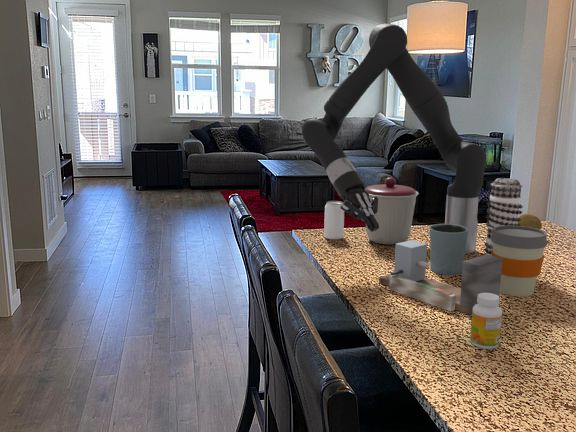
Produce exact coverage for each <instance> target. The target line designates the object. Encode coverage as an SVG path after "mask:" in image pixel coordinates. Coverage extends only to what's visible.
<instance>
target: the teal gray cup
mask: <svg viewBox="0 0 576 432" xmlns="http://www.w3.org/2000/svg"><path fill="white" fill-rule="evenodd" d="M468 231H469V229H468V228H466V227H464V226H460V225H455V224H445V223H436V224H432V225H430V226H429V240H430V241H429V242H430V243H429V245H430V246H429V252H430V254H429V258H430V262H429V268H430V270H431V271H432V272H433V273H436V274H439V275H445V276H446V275H447V276H455V275H460V274H462V270H463V261H465V256H466V254H465V249H466V242H467V237H468Z"/></svg>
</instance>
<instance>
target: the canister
mask: <svg viewBox="0 0 576 432" xmlns="http://www.w3.org/2000/svg"><path fill="white" fill-rule="evenodd" d="M396 183H397V180H396V179H395V178H394V177H387V178H385V179H384V183H383V184H373V185H372V184H371V185H368V186H366V187H364V189H365V191H366V192H367V193H368V194H369V196H370V197H372V198H374V197H377V198H378V212H377V213H376V214H375V215H374V217H375V219H376V221H377V223H378V224H379V228H378V229H377V230H376V231H373V232H371V231H370V230H369V229H368V227H367V225H366V224H365V231H366V236H367V238H368V239H369V240H370V241H371V242H372V243H375V244H380V245H381V244H382V245H386V246H387V245H388V246H389V245H391V246H392V245H394V246H395V244H397V243H401V242H405V241H408V239H409V237H410V234H411V229H412V224H413V218H414V217H413V216H414V212H415V205H416V201H417V196H419V194H420V193H419V192H418V191H417V190H416V189H414V188H412V187H411V186H408V185H399V184H396Z"/></svg>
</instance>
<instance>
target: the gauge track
mask: <svg viewBox="0 0 576 432" xmlns="http://www.w3.org/2000/svg"><path fill="white" fill-rule="evenodd" d="M502 259H503V258H499V257H495V256H491V255H487V254H486V255H484V254H483V255H481V256H476V257H473V258H470V259H467V260H464V261H463V270H462V273H461V285H460V288H459V287H455V286H453V285H450V284H447V283H443V282H440V281H436V280H433V279H430V278H428V277H425V279H423V280H419V281H416V282H415V281H412V280H409V279H406V278H403V277H400V276H398V275H393V276H392V275H391V273H389V274H386V275H382V276H379V277H378V279H379V280H378V283H379V284H380V285H381V284H382V285H385V286H387V287H388V288H389V291H392V292H394V293H395V292H396V293H398V294H401V295H404V296H406V297H409V298H412V299H415V300H418V301H420V302H423V303H426V304H429V305H432V306H435V307H438V308H440V309H443V310H446V311H449V312H453V311H455V310H456V311H459V312H462V313H464V314H466V315H469V316H472V310H473V307H474V305H476V304H478V303H477V296H478V294H479V293H492V294H496V295H498V296H499V297H500V281H501V270H502Z"/></svg>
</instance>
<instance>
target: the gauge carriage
mask: <svg viewBox="0 0 576 432" xmlns="http://www.w3.org/2000/svg"><path fill="white" fill-rule="evenodd" d="M394 246H395V247H394V266H393V267H394V268H393V271H392V272H391V273H390V274H391V275H392V276H393V275H398V276H400V277H403V278H406V279H409V280H412V281H415V282H416V281H419V280H423V279H425V278H426V269H428V268H430V262H429V263H428V262H427V252H428V243H424V242H420V241H417V240H413V239H411V240H406V241H405V242H401V243H397V244H394Z"/></svg>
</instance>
